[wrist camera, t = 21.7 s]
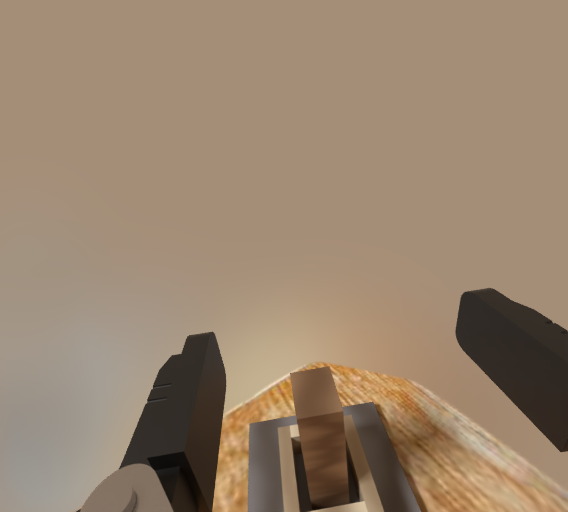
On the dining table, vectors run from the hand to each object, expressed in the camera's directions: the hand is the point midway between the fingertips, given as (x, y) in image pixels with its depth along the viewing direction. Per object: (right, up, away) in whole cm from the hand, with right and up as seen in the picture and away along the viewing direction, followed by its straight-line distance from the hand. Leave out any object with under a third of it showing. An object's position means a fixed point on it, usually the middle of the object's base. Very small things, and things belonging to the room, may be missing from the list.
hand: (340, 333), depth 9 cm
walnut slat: (+3, -24, +23) cm, 33 cm away
